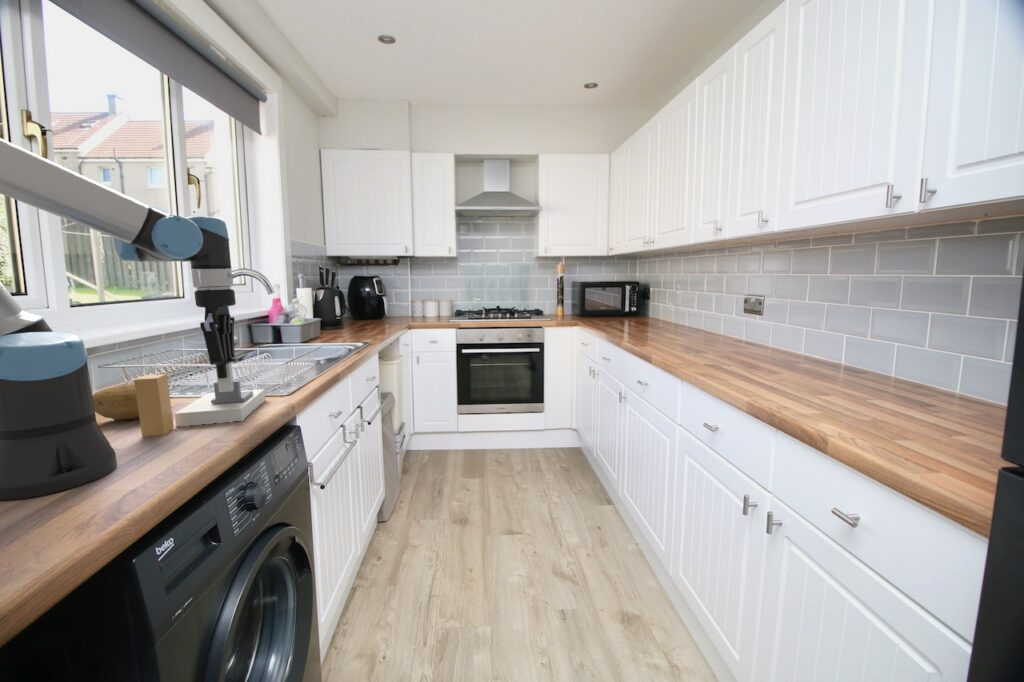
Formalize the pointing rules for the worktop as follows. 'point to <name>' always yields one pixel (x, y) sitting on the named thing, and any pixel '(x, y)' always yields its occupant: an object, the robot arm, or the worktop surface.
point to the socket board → (218, 410)
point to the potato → (117, 402)
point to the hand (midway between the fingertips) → (226, 390)
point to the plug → (154, 404)
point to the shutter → (230, 394)
